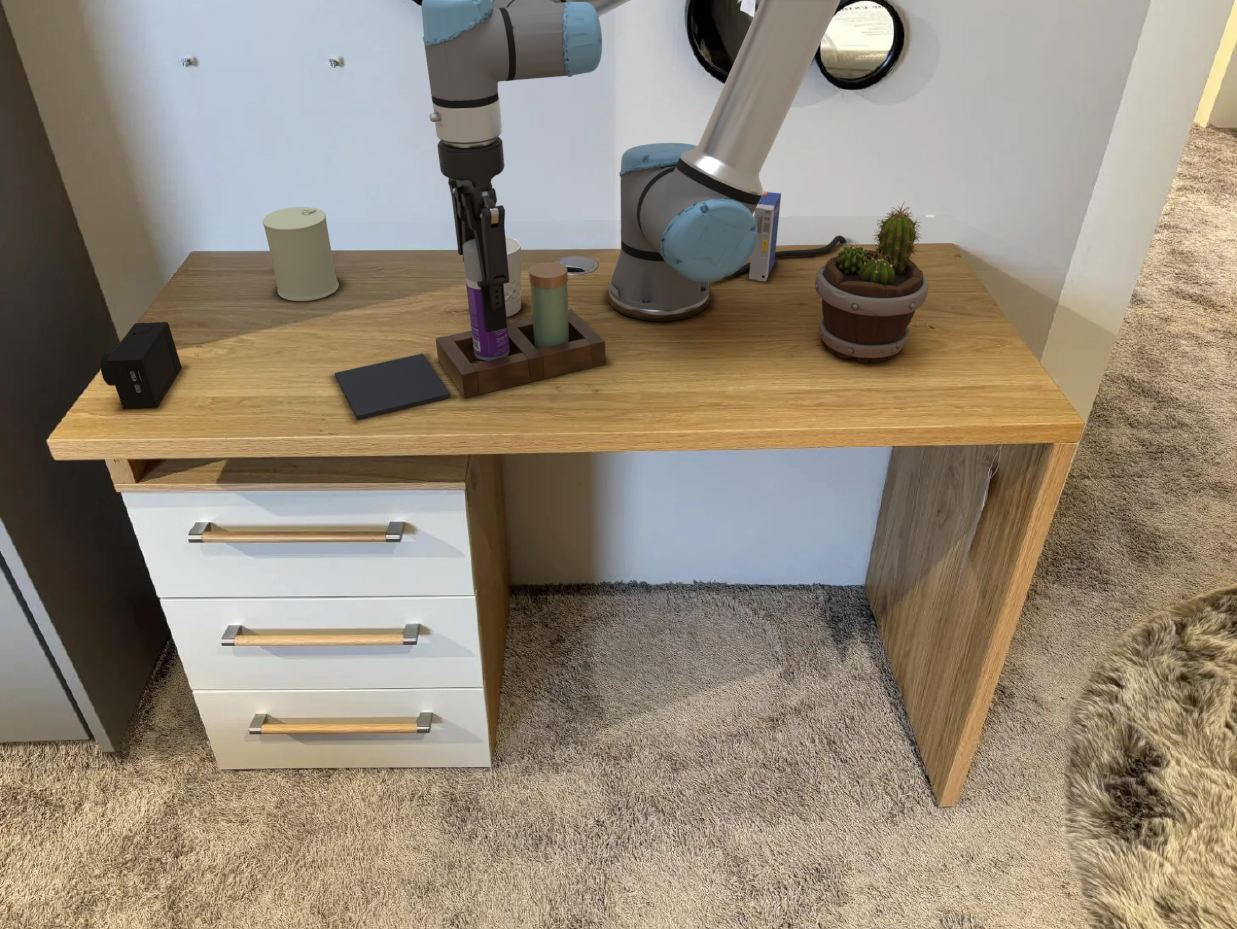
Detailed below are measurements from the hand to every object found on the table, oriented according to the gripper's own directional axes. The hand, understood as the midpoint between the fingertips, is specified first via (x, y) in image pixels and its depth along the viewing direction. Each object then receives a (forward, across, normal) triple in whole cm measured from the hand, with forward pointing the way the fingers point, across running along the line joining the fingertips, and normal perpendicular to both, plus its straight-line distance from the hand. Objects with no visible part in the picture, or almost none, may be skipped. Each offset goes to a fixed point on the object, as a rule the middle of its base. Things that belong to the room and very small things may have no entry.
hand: (488, 320), depth 124 cm
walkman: (+8, -11, +50) cm, 52 cm away
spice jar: (+7, 0, +8) cm, 11 cm away
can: (+7, -37, -17) cm, 41 cm away
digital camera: (+7, -16, -42) cm, 45 cm away
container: (+5, 0, 0) cm, 5 cm away
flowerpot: (+8, +17, +48) cm, 52 cm away
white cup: (+8, -17, +7) cm, 20 cm away
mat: (+7, -2, -14) cm, 15 cm away
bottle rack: (+7, 0, +4) cm, 8 cm away
